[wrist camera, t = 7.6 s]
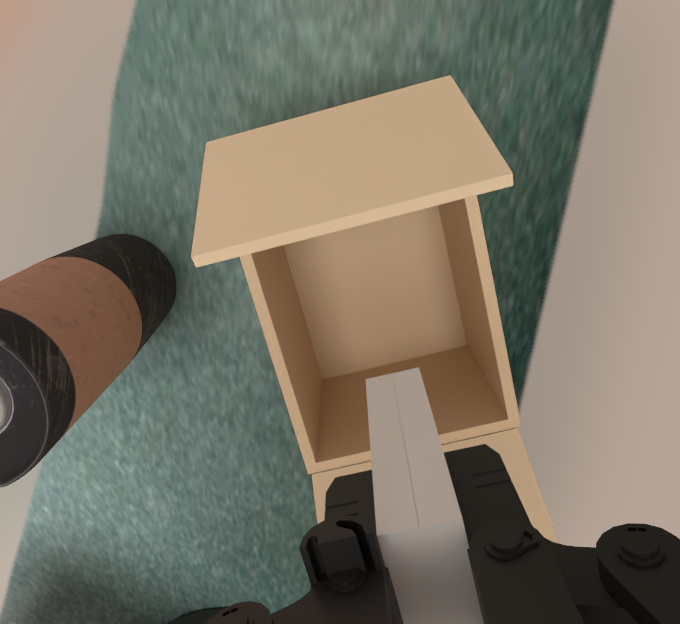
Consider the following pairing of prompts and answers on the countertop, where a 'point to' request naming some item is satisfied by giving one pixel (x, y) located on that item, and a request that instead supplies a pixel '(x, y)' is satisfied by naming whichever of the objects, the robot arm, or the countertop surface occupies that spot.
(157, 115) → the countertop surface
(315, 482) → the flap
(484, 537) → the robot arm
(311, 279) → the carton
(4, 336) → the travel mug
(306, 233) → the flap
